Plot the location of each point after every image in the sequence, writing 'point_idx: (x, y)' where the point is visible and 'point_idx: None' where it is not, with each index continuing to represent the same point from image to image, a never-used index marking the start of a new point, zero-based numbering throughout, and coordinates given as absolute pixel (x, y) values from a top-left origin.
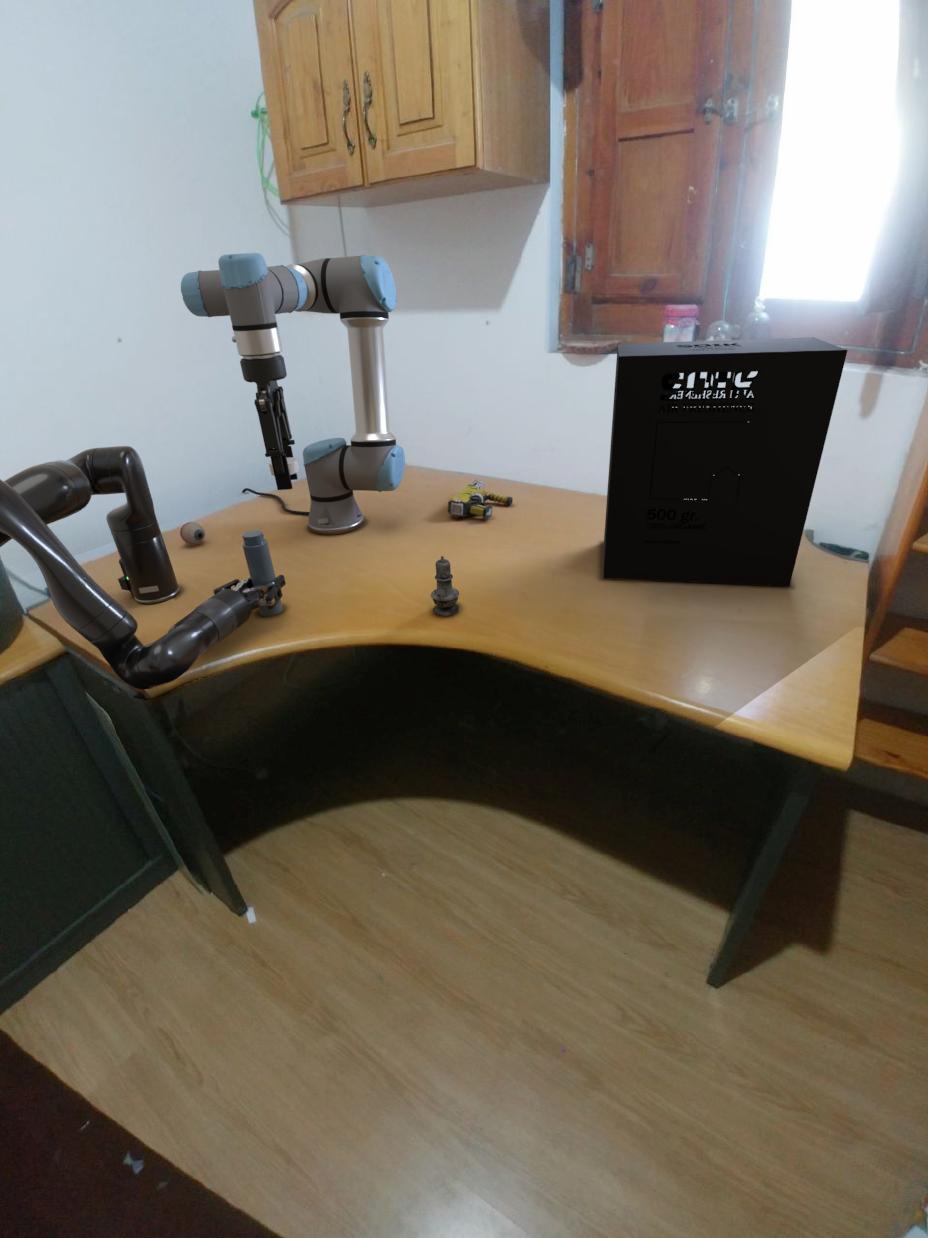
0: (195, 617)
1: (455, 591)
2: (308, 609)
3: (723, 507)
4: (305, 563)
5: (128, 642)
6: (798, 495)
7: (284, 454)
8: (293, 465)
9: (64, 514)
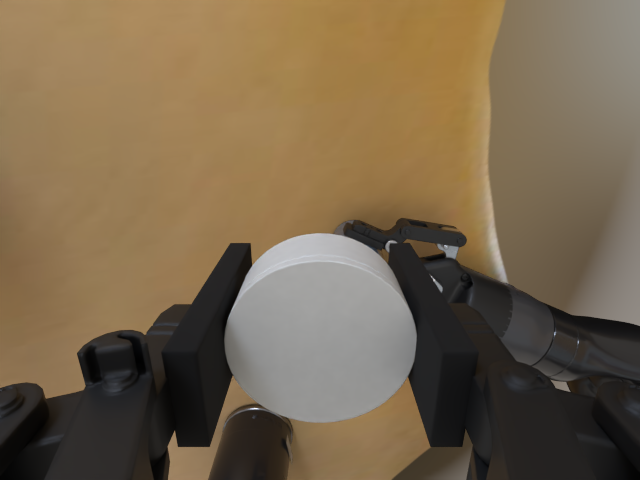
0: (563, 352)
1: None
2: (362, 168)
3: None
4: (139, 207)
5: None
6: None
7: (451, 358)
8: (377, 268)
9: None
